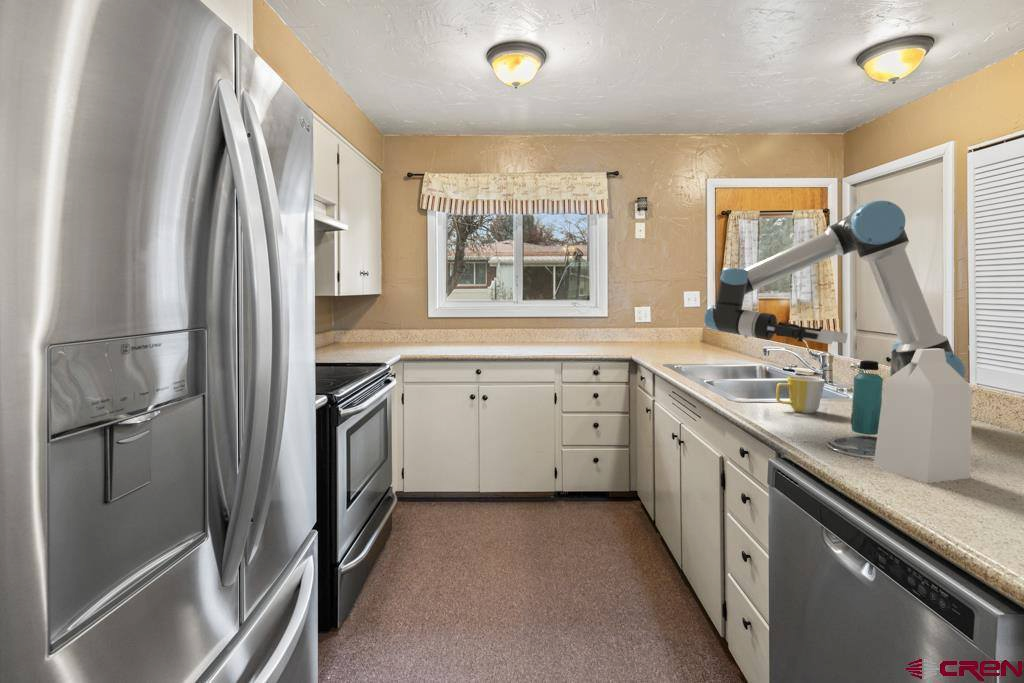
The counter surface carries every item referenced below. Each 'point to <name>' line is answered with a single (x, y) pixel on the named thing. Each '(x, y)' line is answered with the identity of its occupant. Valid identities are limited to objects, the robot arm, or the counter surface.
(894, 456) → the milk
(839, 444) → the grey round plate
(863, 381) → the beverage bottle
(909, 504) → the counter surface
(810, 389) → the mug
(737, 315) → the robot arm
